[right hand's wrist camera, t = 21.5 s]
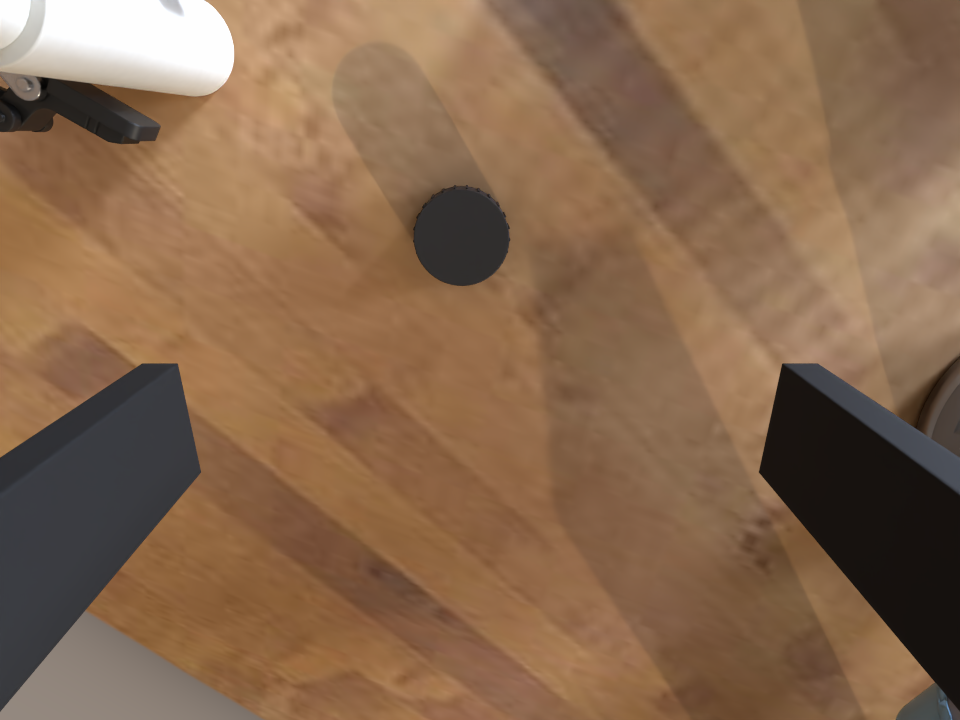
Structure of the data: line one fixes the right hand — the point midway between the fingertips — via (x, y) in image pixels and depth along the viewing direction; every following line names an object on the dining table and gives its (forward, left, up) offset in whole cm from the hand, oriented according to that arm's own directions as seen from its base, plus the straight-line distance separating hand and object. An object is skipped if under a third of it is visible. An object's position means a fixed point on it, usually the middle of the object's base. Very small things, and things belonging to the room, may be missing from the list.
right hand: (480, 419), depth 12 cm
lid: (0, -1, -20) cm, 20 cm away
